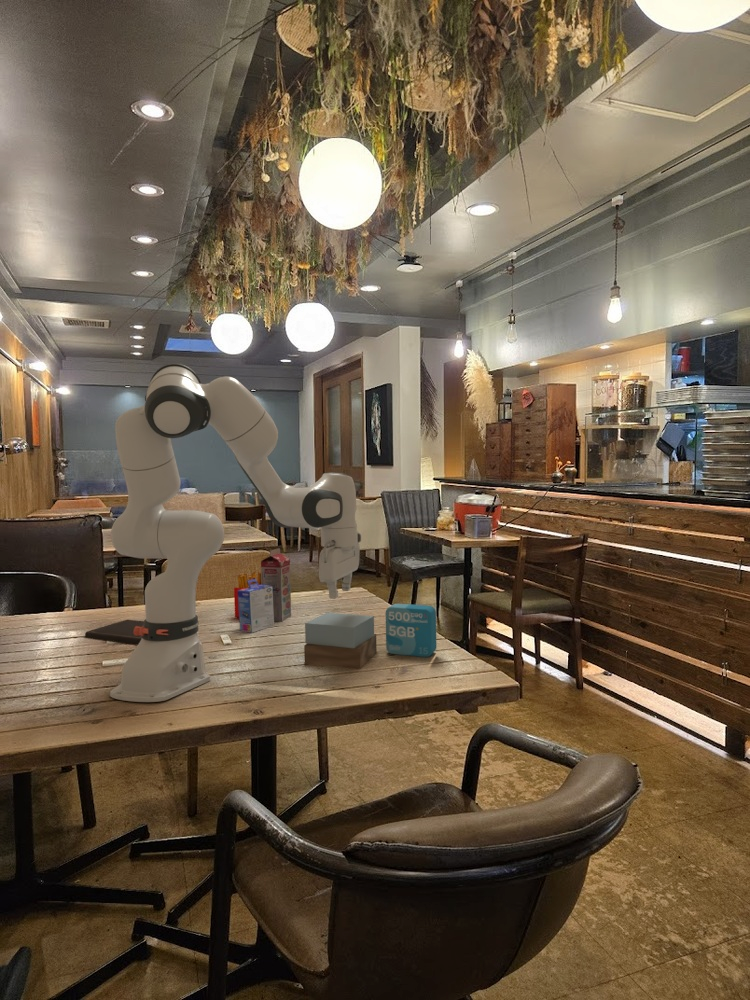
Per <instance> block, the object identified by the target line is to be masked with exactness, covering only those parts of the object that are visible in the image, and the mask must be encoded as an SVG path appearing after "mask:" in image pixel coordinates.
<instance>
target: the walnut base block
mask: <svg viewBox="0 0 750 1000" xmlns="http://www.w3.org/2000/svg"><path fill="white" fill-rule="evenodd" d="M303 646H304V647H303V648H304V649H303V651H304V652H303V653H304V657H303V658H304V665H307V666H309V665H310V666H321V667H322V666H323V667H324V666H325V667H337V668H348V669H349V668H351V669H352V668H353V669H362V667H363V666H364V665H365V664H366V663H367V662H368V661H369V660H370V659H371V658H372V657H373V656H374V655H375V654H376V653H377V633H374V636H373V637H372V638H370V639H368V640H367V641H365V642H364V643H362V644H360V645H359V646H357V647H356V648H344V647H335V646H325V645H316V644H306V643H305V644H304V645H303Z"/></svg>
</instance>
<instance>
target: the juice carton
mask: <svg viewBox="0 0 750 1000" xmlns="http://www.w3.org/2000/svg"><path fill="white" fill-rule="evenodd" d="M290 559H291V558H289V557H288V556H286V555H285V554H283V553H281V548H280V547H279V548H274V549H271V550H269V556H268V557H266V558H264V559H262V560H261V561H260V573H261V584H262V585H268V586H272V590H273V612H274V622H284V621H285V620H287V619H289V618H290V617H292V596H291V594H292V592H291V591H292V590H291V589H292V587H291V560H290Z"/></svg>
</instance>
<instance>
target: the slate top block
mask: <svg viewBox="0 0 750 1000" xmlns="http://www.w3.org/2000/svg"><path fill="white" fill-rule="evenodd" d="M304 632H305V633H304V636H305V637H304V638H305V645H306V644H316V645H325V646H335V647H344V648H356V647H357V646H359V645H360V644H362V643H364V642H365V641H367V640H368V639H370V638H372V637H373V636H374V634H375V616H373V615H363V614H351V613H340V612H339V613H338V612H325V613H323V614H322V615H321V614H320V615H318V616H317V617H314V618H313V619H311V620H308V621H305V623H304Z"/></svg>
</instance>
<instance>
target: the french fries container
mask: <svg viewBox="0 0 750 1000" xmlns="http://www.w3.org/2000/svg"><path fill="white" fill-rule="evenodd" d="M252 579H256V581H257V583H258V585H262V584H261V572H257V574H256V571H253V572H251V575H250V576H248V574H247V573H243V574H238V575H237V581H238V587H233V595H234V596H233V597H234V599H233V600H234V617H235V618H236V619H237V620H239V606H238V590H242V589H246V588H249V585H248V582H247V580H252ZM252 584H256V582H251V583H250V585H252Z"/></svg>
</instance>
